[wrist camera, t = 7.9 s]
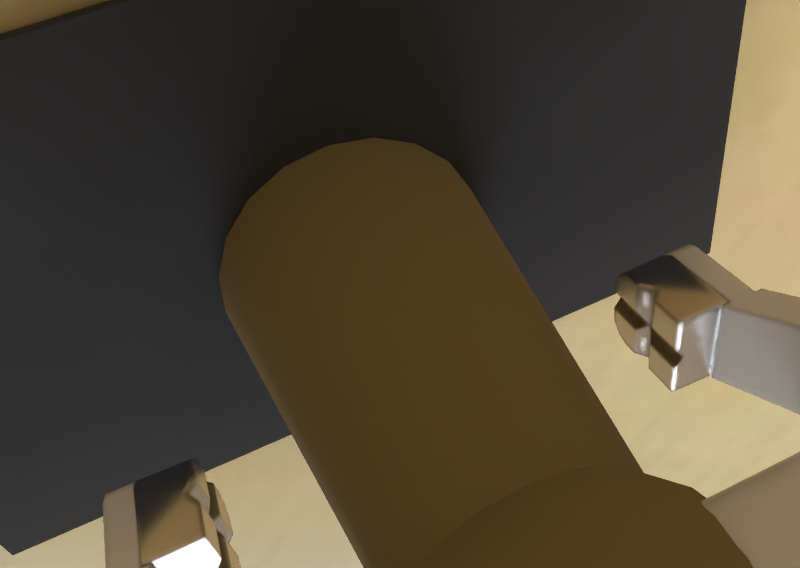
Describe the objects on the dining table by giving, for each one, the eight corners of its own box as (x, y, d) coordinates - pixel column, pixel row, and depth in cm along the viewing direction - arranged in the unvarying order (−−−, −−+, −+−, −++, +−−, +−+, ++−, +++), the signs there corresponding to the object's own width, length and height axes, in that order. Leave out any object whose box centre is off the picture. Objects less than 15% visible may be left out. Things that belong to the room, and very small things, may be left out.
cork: (181, 353, 15) (323, 1062, 7) (279, 98, 12) (681, 741, 4) (410, 378, 18) (690, 881, 10) (524, 179, 16) (1018, 636, 8)
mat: (-419, 164, 10) (-430, 173, 9) (764, -205, 13) (776, -204, 13) (13, 545, 17) (12, 555, 17) (703, 247, 20) (710, 253, 20)
